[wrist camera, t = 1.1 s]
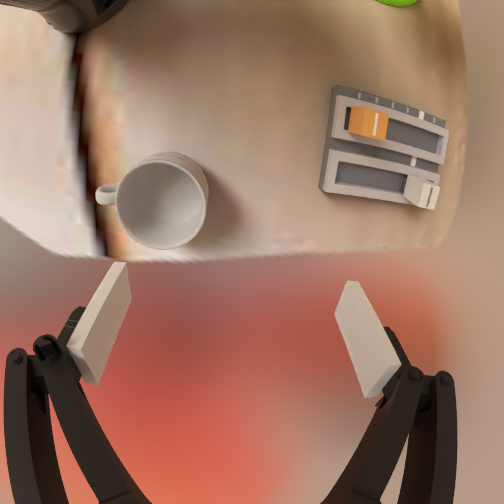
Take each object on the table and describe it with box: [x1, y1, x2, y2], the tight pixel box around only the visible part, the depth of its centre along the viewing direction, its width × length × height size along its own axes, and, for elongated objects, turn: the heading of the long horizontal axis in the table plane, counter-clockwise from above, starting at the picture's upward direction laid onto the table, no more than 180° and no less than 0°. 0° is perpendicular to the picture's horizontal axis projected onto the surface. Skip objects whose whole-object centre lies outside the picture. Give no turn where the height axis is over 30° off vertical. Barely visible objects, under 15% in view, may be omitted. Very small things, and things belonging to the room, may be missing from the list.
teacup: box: [96, 152, 209, 250], centre depth 32 cm, size 14×11×8 cm
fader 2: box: [402, 174, 440, 210], centre depth 32 cm, size 3×3×5 cm
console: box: [319, 86, 450, 206], centre depth 32 cm, size 14×18×3 cm
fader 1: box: [347, 106, 389, 141], centre depth 27 cm, size 3×3×5 cm
